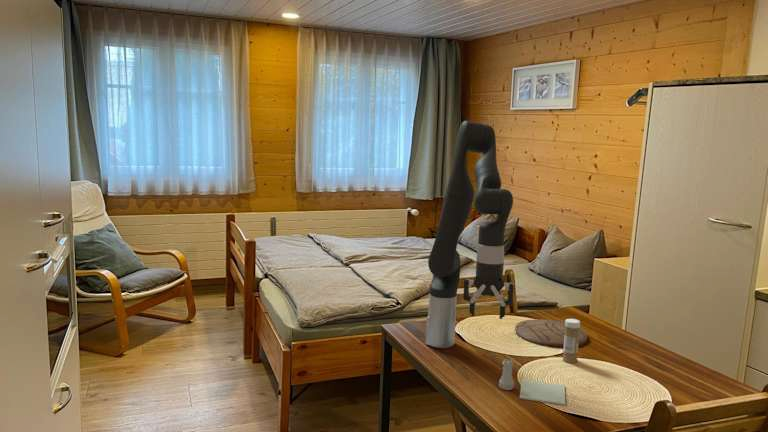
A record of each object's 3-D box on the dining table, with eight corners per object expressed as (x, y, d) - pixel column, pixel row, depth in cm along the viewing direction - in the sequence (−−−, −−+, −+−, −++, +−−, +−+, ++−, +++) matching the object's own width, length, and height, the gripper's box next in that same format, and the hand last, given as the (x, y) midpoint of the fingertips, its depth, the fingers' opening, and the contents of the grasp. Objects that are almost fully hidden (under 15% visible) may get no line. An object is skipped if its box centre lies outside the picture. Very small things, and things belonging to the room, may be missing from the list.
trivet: (535, 350, 196) (535, 345, 196) (503, 325, 220) (503, 320, 220) (601, 346, 202) (601, 341, 202) (563, 322, 226) (563, 317, 226)
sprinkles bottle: (579, 361, 187) (583, 321, 185) (570, 364, 184) (574, 323, 182) (568, 356, 191) (571, 317, 189) (559, 359, 188) (562, 319, 186)
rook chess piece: (496, 383, 169) (498, 357, 167) (511, 383, 169) (513, 357, 168) (500, 390, 164) (502, 363, 163) (516, 390, 165) (518, 363, 163)
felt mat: (519, 398, 160) (519, 396, 160) (521, 380, 171) (521, 379, 171) (565, 405, 157) (565, 403, 157) (564, 386, 168) (564, 385, 168)
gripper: (462, 260, 161) (459, 318, 164) (515, 265, 158) (512, 323, 160) (466, 255, 169) (463, 310, 171) (517, 259, 165) (513, 315, 167)
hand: (487, 316), depth 166 cm, fingers open, 7 cm apart
